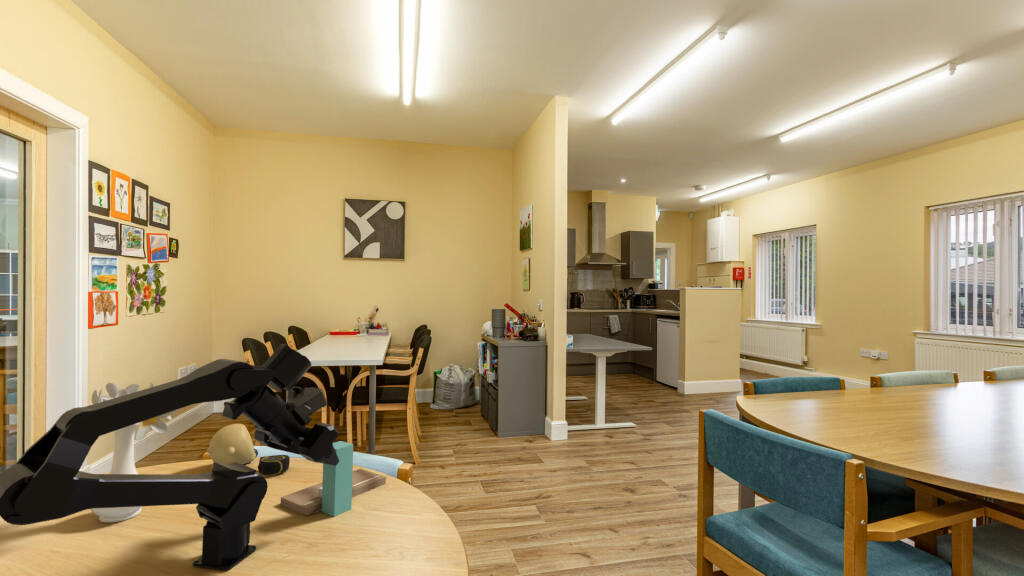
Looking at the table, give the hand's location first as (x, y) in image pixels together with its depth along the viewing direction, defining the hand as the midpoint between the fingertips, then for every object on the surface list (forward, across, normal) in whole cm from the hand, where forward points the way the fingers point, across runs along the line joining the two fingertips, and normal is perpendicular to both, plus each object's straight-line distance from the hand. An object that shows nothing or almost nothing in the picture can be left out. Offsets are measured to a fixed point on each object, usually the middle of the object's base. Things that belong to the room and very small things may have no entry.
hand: (322, 458), depth 89 cm
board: (+14, +7, +2) cm, 16 cm away
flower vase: (-6, +31, +23) cm, 39 cm away
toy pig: (+11, +42, +5) cm, 43 cm away
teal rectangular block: (+11, +1, +5) cm, 12 cm away
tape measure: (+14, +31, +3) cm, 34 cm away
